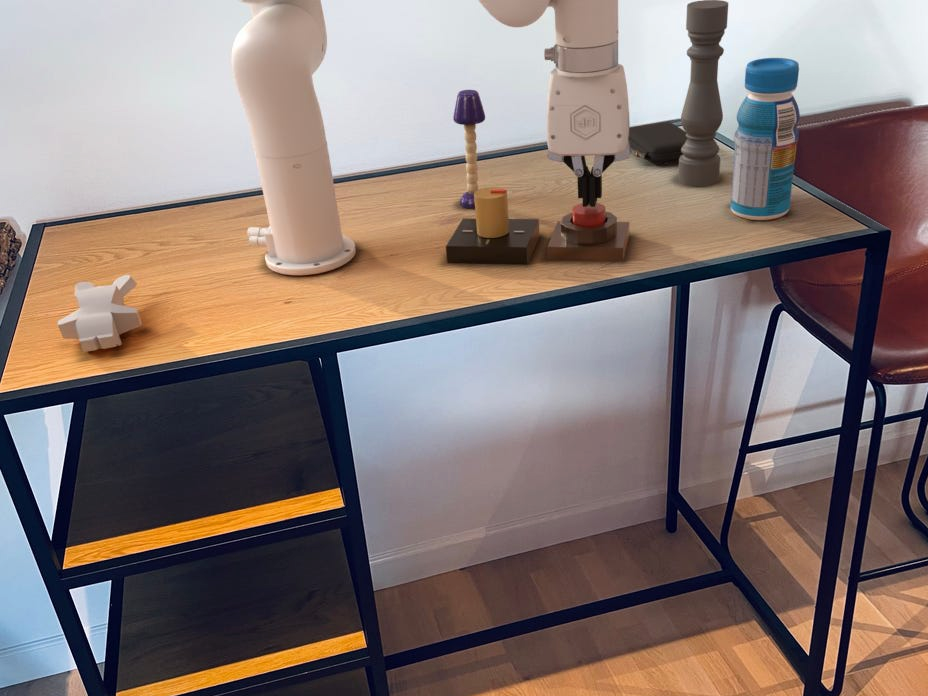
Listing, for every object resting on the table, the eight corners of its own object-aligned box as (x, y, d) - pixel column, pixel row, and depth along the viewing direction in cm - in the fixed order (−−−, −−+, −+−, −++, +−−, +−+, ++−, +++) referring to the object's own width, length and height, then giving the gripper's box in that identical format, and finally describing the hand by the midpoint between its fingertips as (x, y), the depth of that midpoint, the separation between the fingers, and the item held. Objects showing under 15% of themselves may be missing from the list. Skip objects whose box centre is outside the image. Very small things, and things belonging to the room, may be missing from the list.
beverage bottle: (727, 221, 138) (738, 72, 127) (730, 199, 145) (740, 56, 133) (790, 222, 136) (807, 71, 125) (790, 200, 143) (805, 54, 131)
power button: (570, 229, 131) (569, 214, 130) (574, 216, 135) (574, 201, 133) (603, 229, 130) (603, 214, 129) (607, 216, 134) (607, 202, 132)
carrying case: (612, 144, 170) (645, 170, 158) (613, 126, 168) (645, 151, 156) (671, 135, 171) (707, 160, 159) (671, 117, 169) (708, 141, 158)
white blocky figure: (50, 334, 116) (61, 270, 127) (64, 369, 119) (74, 304, 130) (132, 320, 117) (136, 259, 128) (144, 356, 120) (147, 293, 131)
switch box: (547, 260, 132) (546, 232, 130) (557, 234, 139) (557, 207, 137) (622, 262, 130) (623, 233, 127) (629, 235, 137) (629, 207, 135)
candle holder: (688, 189, 150) (697, 10, 135) (671, 176, 155) (677, 3, 140) (726, 182, 151) (738, 4, 136) (707, 170, 156) (717, -3, 141)
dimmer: (447, 263, 134) (445, 245, 132) (464, 234, 142) (462, 217, 140) (527, 265, 131) (526, 246, 130) (539, 235, 139) (539, 217, 138)
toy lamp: (492, 198, 153) (484, 86, 143) (489, 209, 149) (481, 95, 139) (461, 199, 153) (452, 88, 144) (458, 210, 150) (448, 97, 140)
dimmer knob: (474, 238, 134) (471, 196, 130) (479, 225, 137) (476, 185, 134) (506, 238, 133) (504, 196, 129) (511, 225, 136) (508, 184, 133)
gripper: (521, 67, 119) (529, 213, 129) (646, 62, 116) (644, 213, 126) (532, 51, 125) (539, 193, 135) (651, 47, 121) (649, 192, 132)
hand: (590, 202), depth 131 cm, fingers closed
